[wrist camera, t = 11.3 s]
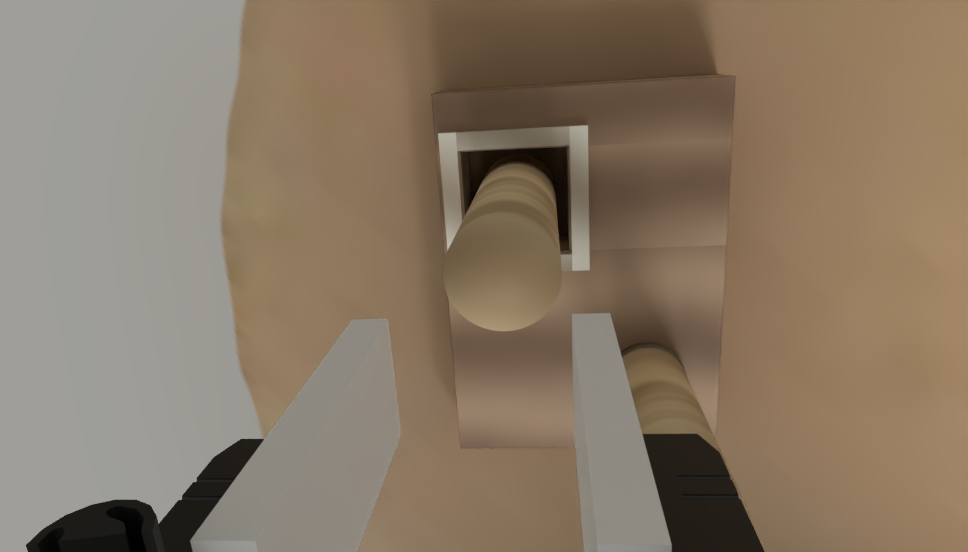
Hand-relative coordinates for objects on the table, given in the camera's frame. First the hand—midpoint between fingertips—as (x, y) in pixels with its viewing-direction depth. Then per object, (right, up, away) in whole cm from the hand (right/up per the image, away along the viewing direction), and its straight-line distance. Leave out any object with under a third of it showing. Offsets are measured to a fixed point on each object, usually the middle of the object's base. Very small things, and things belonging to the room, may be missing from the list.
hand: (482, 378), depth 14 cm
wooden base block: (+5, +3, +20) cm, 21 cm away
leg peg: (+2, +6, +20) cm, 21 cm away
